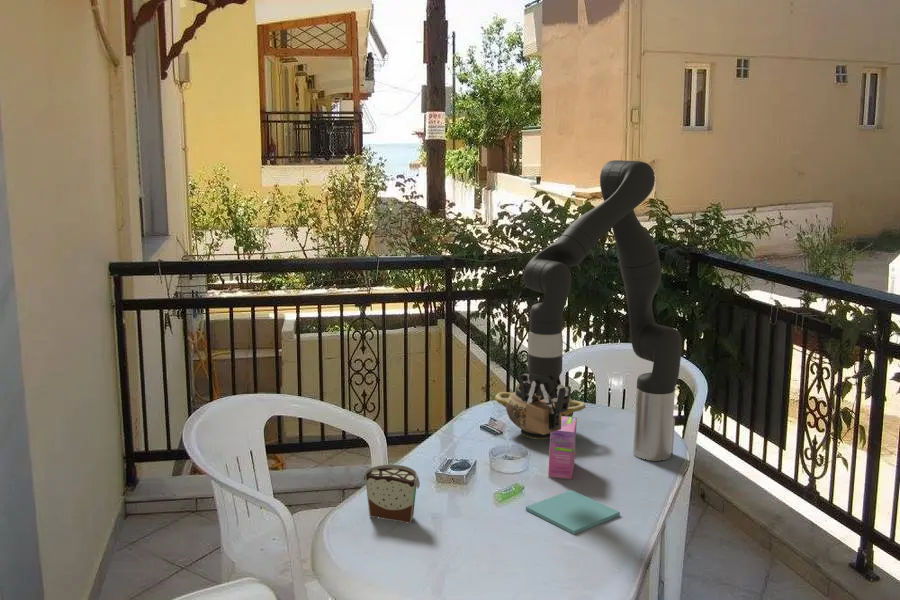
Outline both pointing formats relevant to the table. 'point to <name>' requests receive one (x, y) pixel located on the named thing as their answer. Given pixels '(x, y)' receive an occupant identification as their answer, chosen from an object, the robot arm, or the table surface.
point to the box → (563, 449)
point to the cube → (539, 417)
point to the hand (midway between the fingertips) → (543, 425)
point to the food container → (391, 492)
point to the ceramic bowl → (518, 410)
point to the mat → (572, 511)
